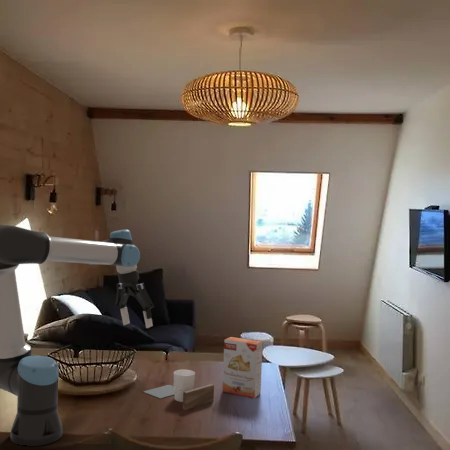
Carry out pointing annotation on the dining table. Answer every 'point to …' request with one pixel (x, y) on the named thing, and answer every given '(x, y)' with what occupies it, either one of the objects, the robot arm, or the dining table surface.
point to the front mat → (161, 391)
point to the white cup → (183, 383)
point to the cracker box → (242, 367)
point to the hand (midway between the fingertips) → (137, 325)
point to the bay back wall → (198, 396)
